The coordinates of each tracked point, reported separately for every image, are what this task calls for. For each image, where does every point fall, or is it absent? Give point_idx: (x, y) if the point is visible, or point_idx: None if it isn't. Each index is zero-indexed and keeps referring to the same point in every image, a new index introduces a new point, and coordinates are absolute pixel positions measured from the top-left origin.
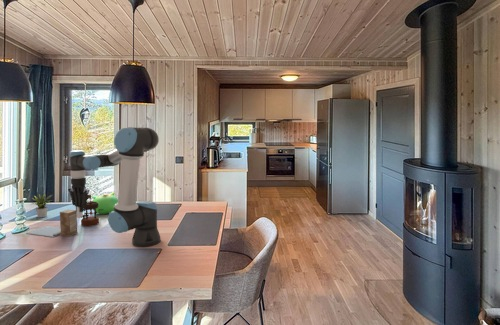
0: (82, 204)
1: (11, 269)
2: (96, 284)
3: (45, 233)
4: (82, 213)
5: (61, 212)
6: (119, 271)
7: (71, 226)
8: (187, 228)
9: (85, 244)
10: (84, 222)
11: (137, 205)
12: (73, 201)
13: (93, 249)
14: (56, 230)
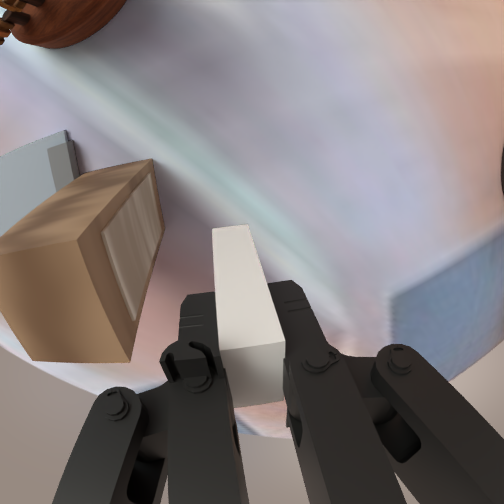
0: (385, 422)
1: (276, 431)
2: (464, 367)
3: None
4: (255, 249)
5: (50, 360)
6: (490, 327)
7: (150, 238)
8: None
9: (358, 272)
10: (65, 37)
11: None
12: (158, 500)
13: (415, 290)
14: (18, 208)
